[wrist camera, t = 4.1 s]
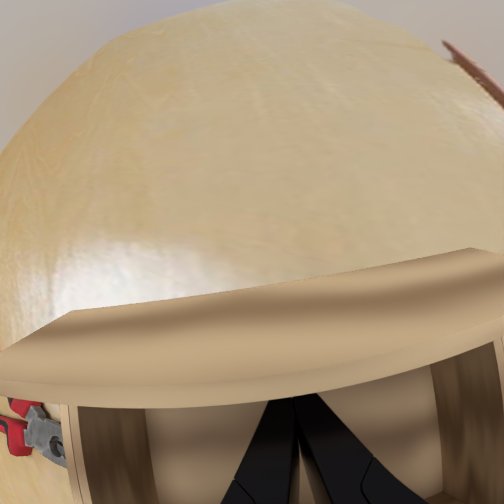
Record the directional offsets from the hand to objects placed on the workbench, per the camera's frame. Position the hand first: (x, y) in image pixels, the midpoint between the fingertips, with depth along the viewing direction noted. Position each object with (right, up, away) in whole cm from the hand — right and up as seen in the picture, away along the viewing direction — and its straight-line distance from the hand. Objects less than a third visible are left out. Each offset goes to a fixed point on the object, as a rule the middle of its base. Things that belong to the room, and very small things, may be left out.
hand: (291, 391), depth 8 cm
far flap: (0, +1, +2) cm, 2 cm away
